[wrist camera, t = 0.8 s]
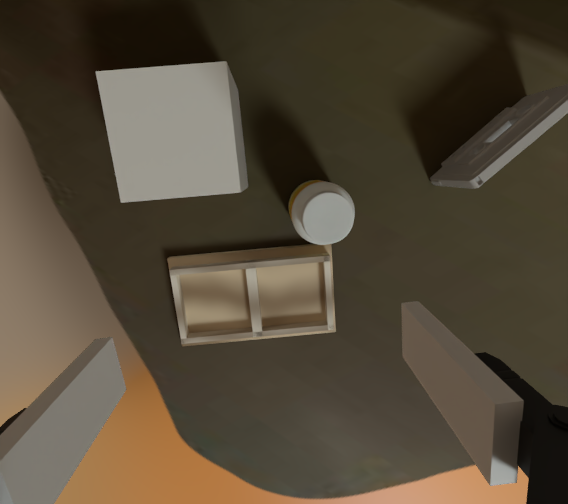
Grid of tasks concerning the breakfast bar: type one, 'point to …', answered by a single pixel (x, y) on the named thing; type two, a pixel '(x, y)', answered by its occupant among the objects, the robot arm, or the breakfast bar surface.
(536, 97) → the cassette
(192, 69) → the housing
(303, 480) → the breakfast bar surface
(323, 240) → the supplement bottle
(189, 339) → the beige divided tray
